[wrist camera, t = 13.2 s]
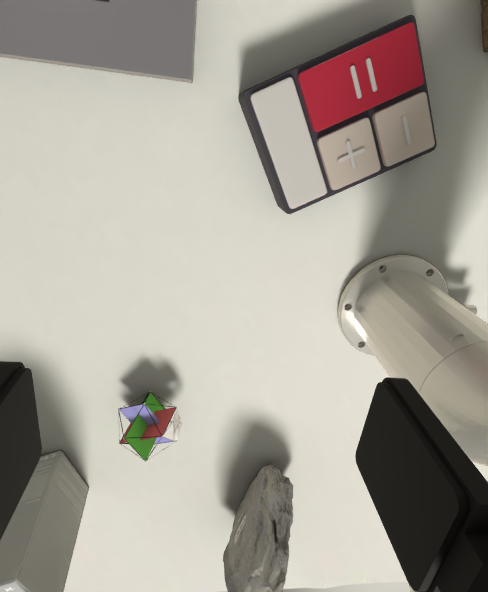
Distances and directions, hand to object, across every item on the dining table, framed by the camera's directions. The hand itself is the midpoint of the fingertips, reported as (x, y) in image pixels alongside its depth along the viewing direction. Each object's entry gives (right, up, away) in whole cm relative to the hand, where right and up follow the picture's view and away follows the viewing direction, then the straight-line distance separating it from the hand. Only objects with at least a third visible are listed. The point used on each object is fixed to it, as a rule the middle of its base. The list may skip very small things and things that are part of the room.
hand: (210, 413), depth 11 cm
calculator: (+9, +20, +26) cm, 34 cm away
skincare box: (-24, -21, +41) cm, 52 cm away
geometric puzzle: (-11, -11, +38) cm, 40 cm away
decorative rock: (+2, -26, +46) cm, 53 cm away
